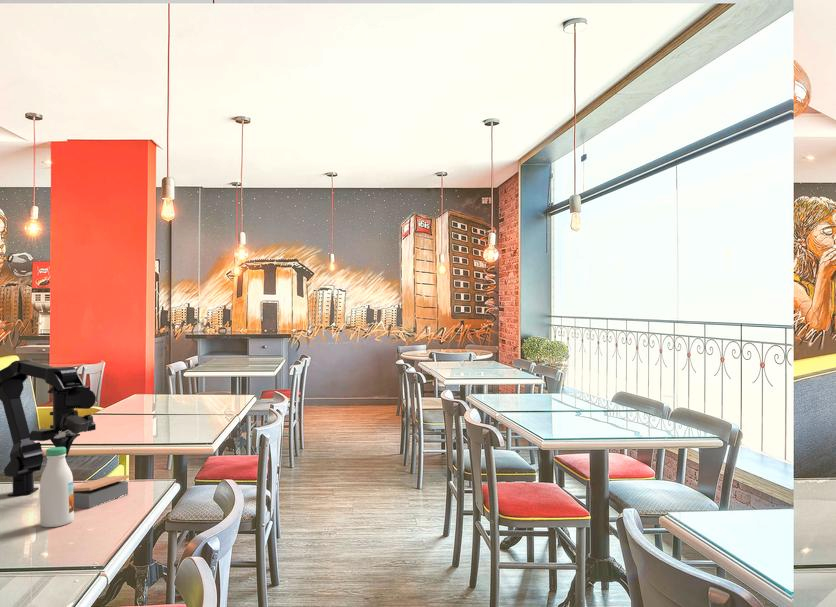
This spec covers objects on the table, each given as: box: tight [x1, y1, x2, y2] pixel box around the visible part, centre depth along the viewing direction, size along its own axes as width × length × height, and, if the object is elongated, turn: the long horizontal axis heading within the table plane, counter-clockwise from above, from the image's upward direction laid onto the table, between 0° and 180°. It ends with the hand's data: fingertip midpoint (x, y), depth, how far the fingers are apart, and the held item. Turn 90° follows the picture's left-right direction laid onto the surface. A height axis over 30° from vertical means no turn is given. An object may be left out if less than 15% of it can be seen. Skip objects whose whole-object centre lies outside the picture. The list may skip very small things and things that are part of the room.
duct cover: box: [73, 474, 130, 491], centre depth 182 cm, size 10×14×1 cm
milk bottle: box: [39, 446, 75, 528], centre depth 162 cm, size 8×8×20 cm
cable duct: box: [73, 480, 129, 509], centre depth 182 cm, size 9×14×4 cm, turn 160°
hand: (64, 458), depth 187 cm, fingers closed
